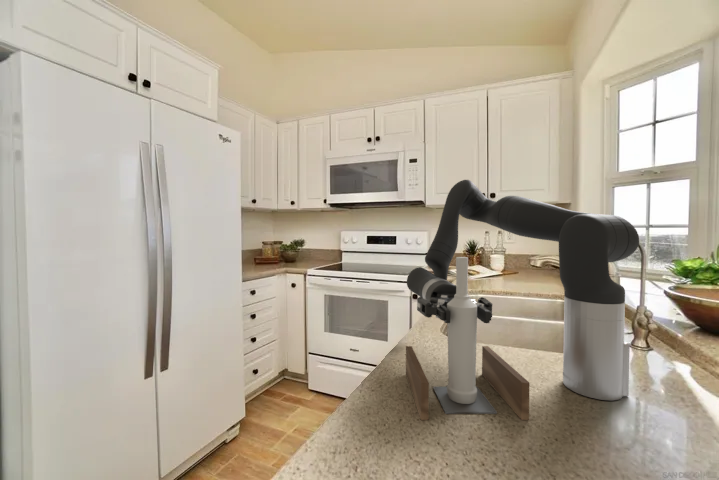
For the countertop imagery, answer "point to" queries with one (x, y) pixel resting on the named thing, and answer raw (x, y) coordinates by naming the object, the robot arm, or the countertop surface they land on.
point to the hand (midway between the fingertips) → (468, 317)
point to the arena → (494, 372)
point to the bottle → (462, 340)
